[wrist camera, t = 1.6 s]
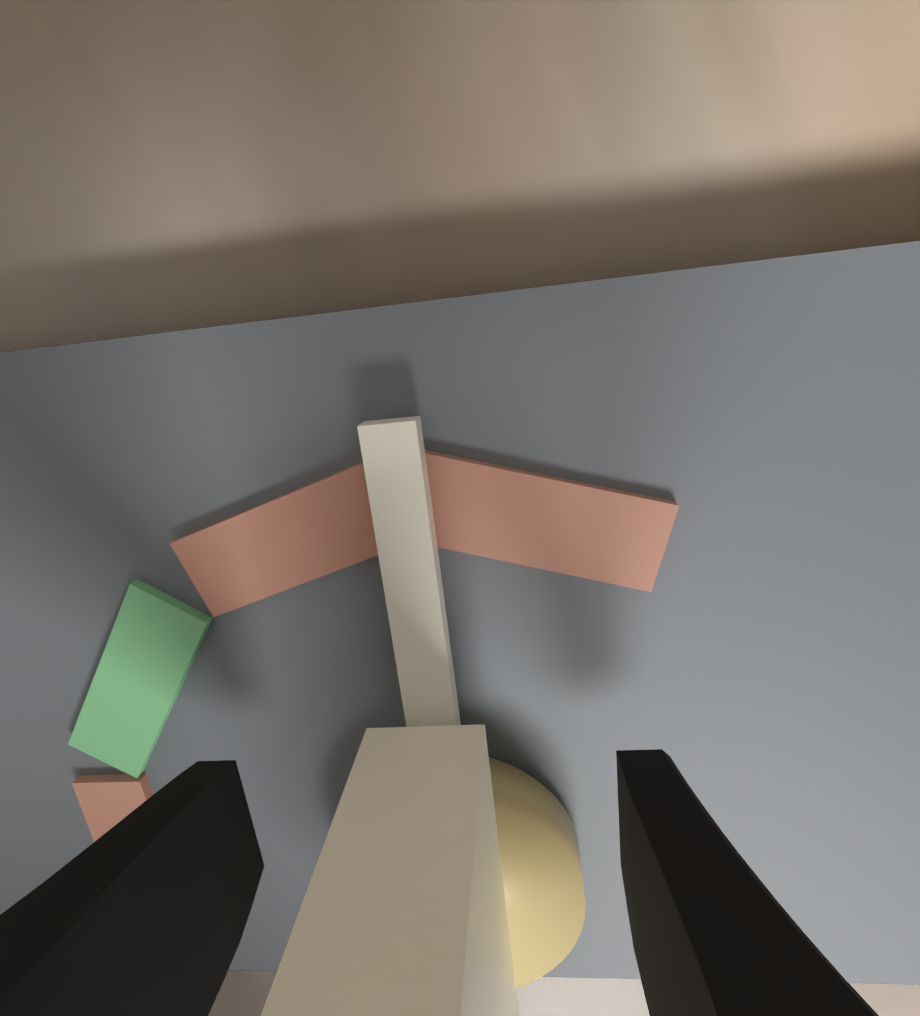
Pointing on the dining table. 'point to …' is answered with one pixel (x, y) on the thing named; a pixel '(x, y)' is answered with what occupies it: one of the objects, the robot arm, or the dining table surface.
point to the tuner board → (492, 575)
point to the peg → (428, 818)
